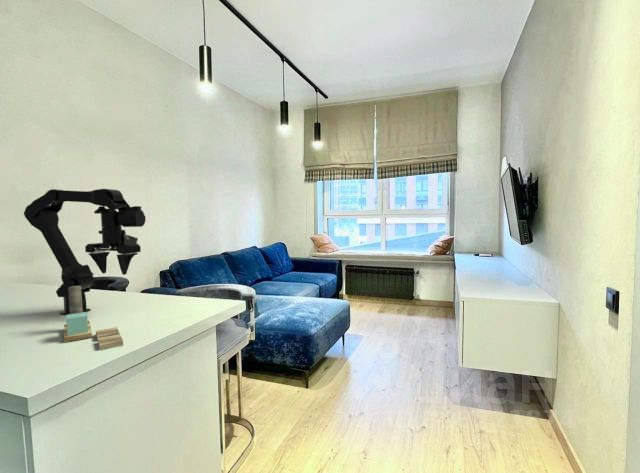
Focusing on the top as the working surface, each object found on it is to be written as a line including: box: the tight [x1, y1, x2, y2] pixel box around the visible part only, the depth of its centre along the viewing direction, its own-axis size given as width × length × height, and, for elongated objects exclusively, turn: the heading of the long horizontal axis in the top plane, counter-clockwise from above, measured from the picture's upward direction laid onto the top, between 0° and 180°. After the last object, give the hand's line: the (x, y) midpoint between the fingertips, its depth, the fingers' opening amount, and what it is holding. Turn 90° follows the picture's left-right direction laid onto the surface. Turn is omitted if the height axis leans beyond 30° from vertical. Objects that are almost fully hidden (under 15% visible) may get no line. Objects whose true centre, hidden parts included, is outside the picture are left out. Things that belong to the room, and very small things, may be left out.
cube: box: [65, 311, 89, 336], centre depth 95 cm, size 4×4×4 cm
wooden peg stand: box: [63, 286, 93, 343], centre depth 98 cm, size 14×6×12 cm, turn 36°
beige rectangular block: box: [95, 326, 124, 351], centre depth 92 cm, size 14×5×1 cm, turn 36°
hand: (114, 273), depth 118 cm, fingers open, 9 cm apart
